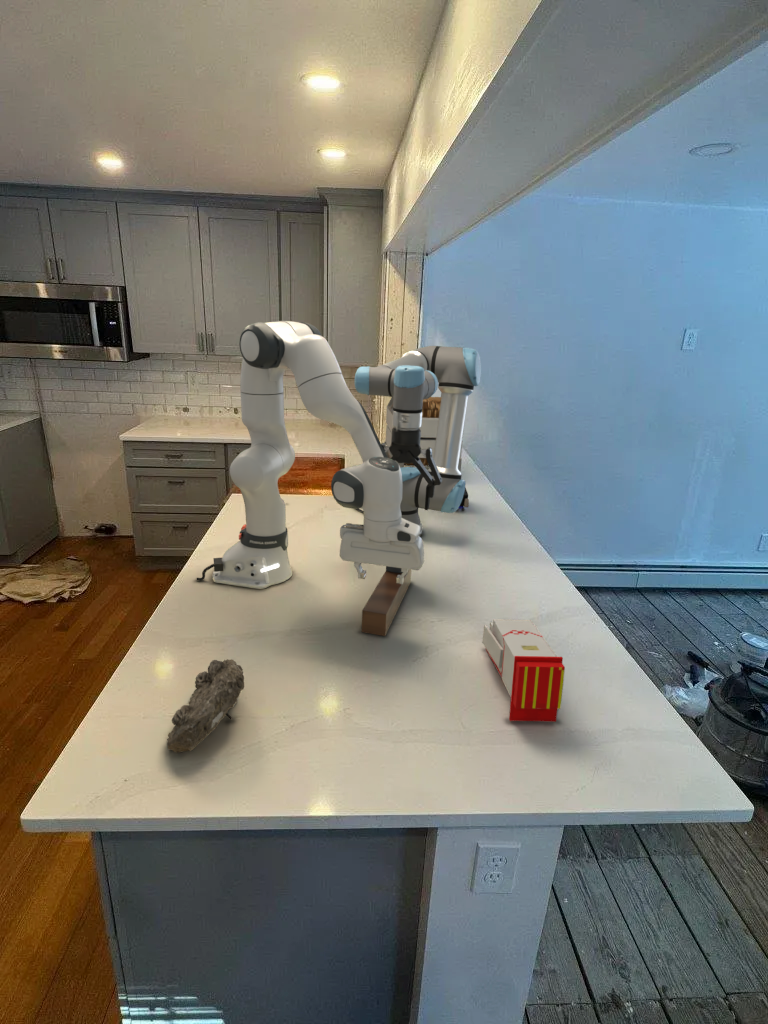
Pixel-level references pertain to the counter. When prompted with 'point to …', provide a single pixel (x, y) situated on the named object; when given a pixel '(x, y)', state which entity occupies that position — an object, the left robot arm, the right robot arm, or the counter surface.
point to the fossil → (206, 705)
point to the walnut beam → (384, 603)
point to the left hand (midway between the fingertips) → (381, 580)
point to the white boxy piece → (421, 428)
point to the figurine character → (464, 500)
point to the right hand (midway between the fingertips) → (402, 505)
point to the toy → (526, 669)
